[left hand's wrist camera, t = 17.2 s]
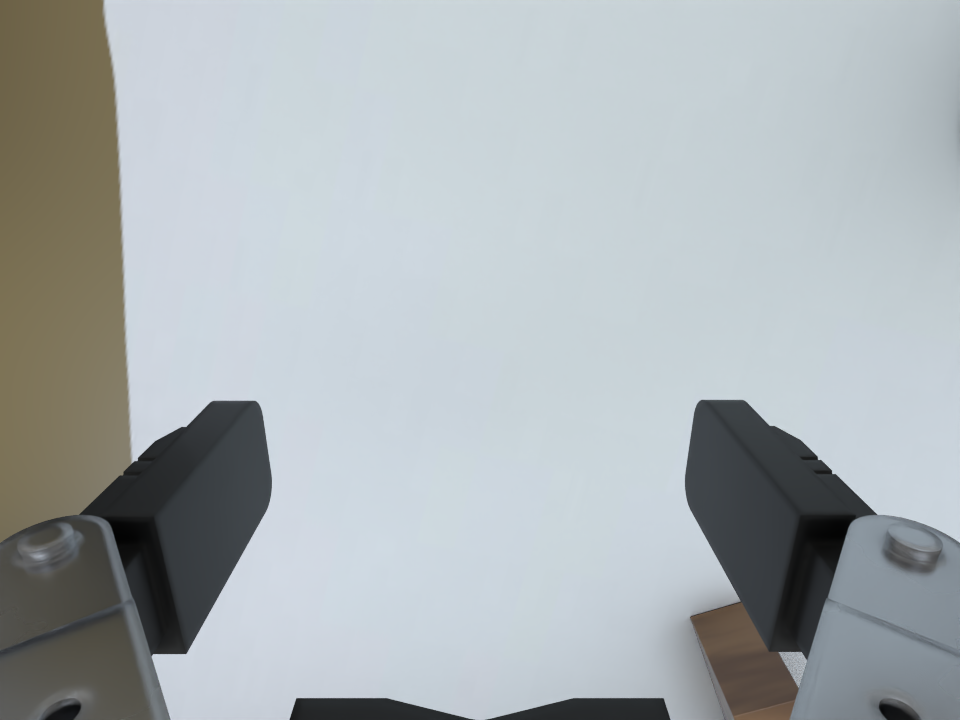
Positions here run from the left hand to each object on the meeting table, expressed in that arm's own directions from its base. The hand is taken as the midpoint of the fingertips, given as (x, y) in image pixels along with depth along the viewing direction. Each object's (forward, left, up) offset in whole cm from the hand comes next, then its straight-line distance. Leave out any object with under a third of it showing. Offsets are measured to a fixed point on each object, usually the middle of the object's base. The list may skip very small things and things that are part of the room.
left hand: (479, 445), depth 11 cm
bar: (+36, +36, -30) cm, 59 cm away
